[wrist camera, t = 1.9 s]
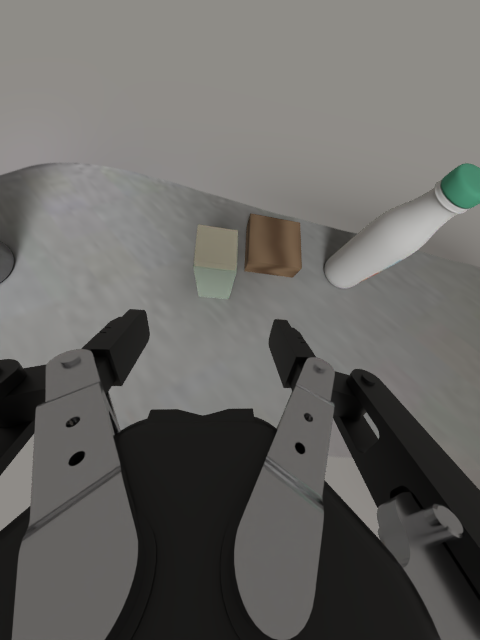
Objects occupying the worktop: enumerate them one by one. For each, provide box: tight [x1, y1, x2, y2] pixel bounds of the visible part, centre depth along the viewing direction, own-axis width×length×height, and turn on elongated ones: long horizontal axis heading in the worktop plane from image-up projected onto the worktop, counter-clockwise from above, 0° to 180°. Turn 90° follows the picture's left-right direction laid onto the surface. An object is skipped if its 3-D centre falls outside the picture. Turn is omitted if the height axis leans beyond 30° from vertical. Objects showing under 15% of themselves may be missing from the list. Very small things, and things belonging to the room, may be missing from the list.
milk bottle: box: [324, 164, 480, 288], centre depth 27 cm, size 8×8×20 cm
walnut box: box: [244, 214, 302, 277], centre depth 34 cm, size 10×10×4 cm
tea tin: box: [193, 225, 238, 299], centre depth 26 cm, size 5×5×11 cm
